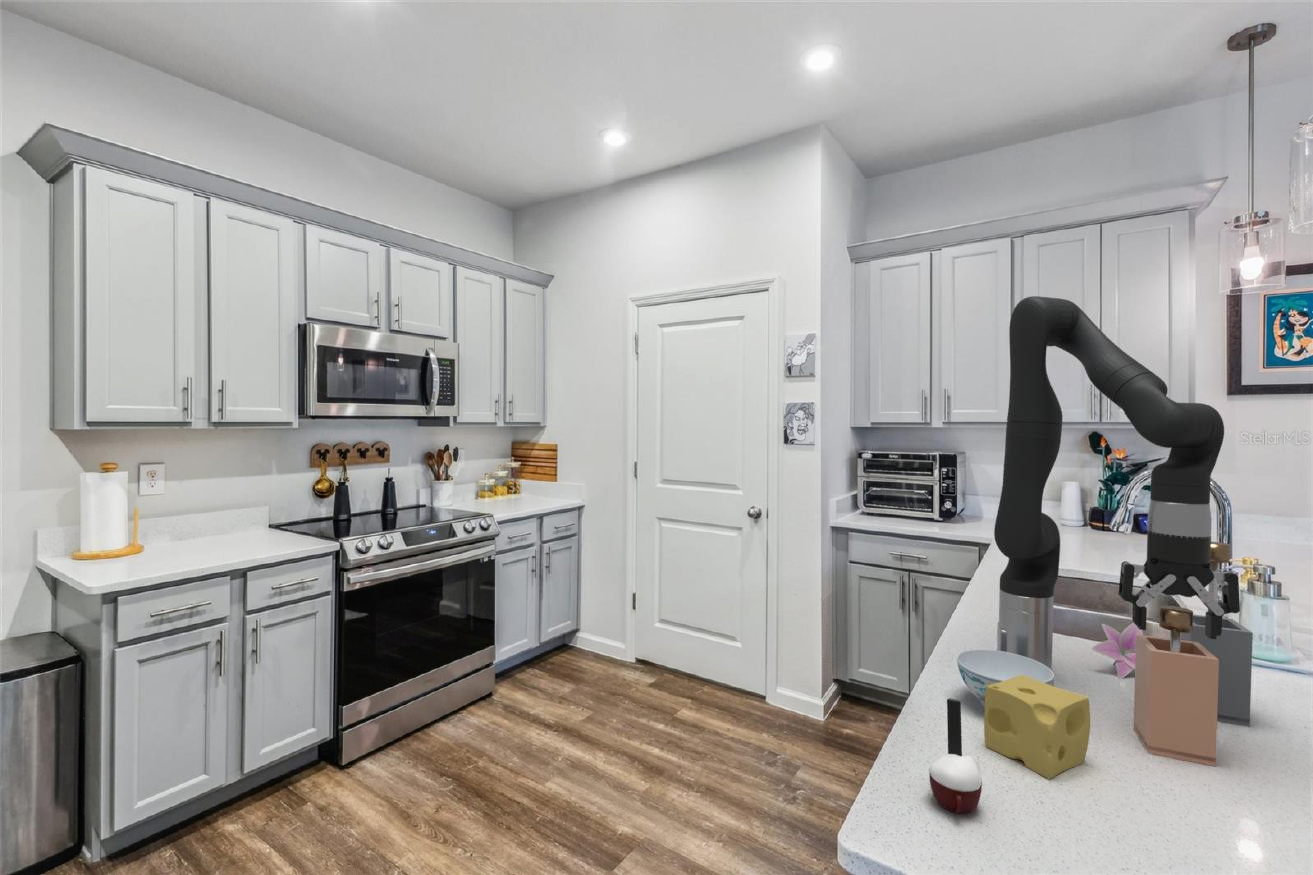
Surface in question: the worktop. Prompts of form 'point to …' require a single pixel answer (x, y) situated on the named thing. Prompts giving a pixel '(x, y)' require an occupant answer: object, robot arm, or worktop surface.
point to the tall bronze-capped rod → (1217, 563)
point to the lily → (1120, 647)
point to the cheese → (1037, 724)
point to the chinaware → (997, 669)
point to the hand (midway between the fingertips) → (1175, 633)
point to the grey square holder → (1229, 667)
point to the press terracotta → (1176, 699)
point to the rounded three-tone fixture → (956, 769)
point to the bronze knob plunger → (1176, 623)
